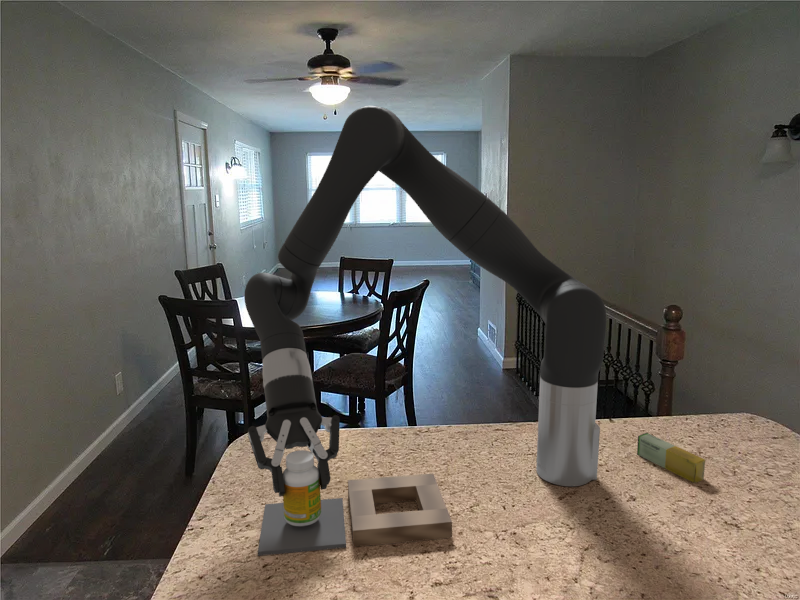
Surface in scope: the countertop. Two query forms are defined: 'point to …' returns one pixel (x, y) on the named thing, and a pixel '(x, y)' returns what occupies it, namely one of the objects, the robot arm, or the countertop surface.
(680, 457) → the medication box
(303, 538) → the rubber mat
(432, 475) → the walnut socket
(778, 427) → the countertop surface
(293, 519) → the supplement bottle
